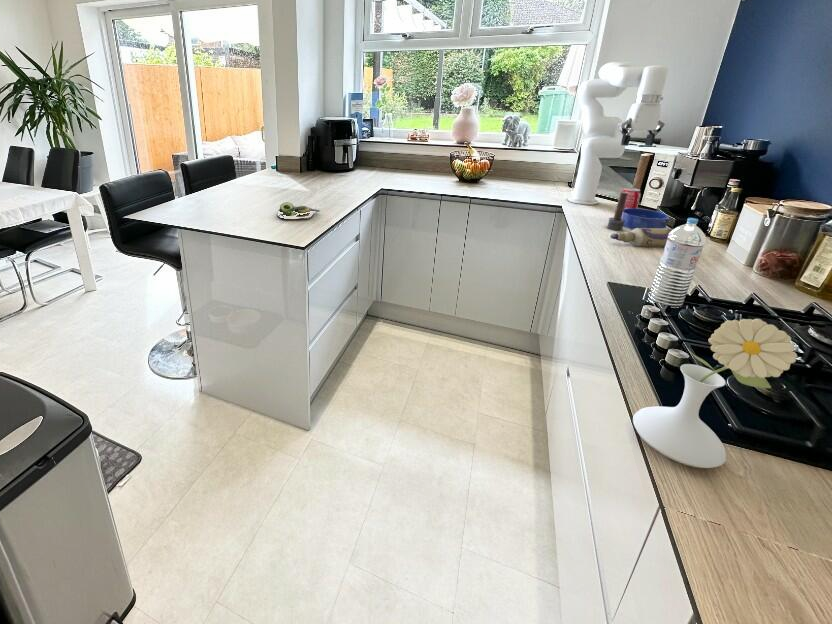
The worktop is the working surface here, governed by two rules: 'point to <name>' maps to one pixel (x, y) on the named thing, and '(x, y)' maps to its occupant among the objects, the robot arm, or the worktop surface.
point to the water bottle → (677, 265)
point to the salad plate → (289, 208)
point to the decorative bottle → (644, 237)
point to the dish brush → (618, 214)
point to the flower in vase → (750, 363)
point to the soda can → (632, 197)
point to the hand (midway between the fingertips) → (636, 145)
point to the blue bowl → (644, 218)
